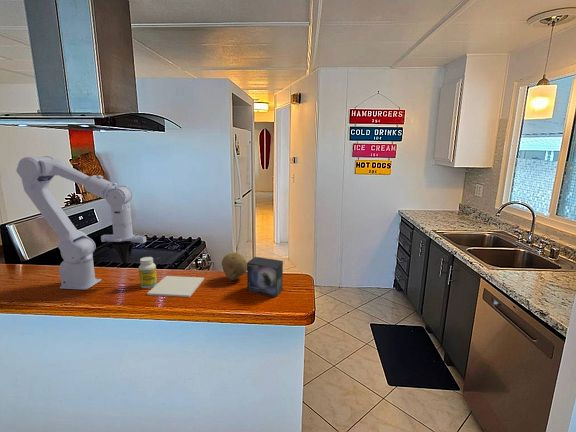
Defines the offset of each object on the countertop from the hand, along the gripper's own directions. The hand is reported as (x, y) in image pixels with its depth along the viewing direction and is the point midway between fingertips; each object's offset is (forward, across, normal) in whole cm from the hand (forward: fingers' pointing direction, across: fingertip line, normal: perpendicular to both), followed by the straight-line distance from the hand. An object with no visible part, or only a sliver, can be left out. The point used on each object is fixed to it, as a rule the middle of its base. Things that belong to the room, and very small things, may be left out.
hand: (126, 262), depth 108 cm
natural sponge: (+8, +35, +8) cm, 37 cm away
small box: (+8, +47, 0) cm, 48 cm away
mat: (+8, +17, 0) cm, 19 cm away
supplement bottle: (+8, +7, 0) cm, 11 cm away
